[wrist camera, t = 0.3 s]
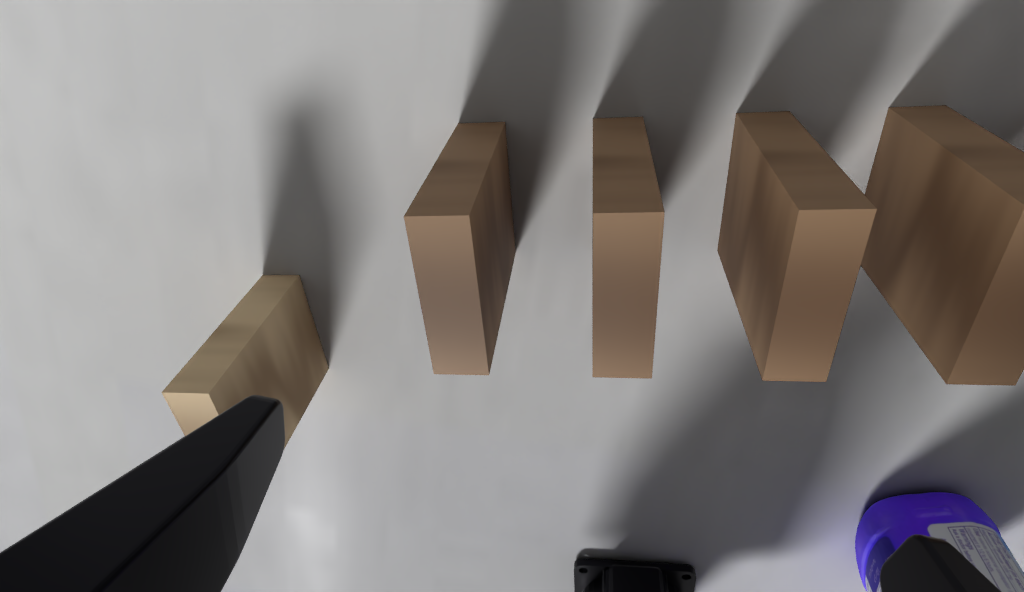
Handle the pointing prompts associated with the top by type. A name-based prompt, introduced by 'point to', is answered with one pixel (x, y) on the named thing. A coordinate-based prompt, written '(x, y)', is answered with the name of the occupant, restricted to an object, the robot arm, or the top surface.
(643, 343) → the domino
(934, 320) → the domino
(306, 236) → the top surface
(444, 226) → the domino
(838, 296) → the domino
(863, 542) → the bottle
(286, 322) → the oak domino
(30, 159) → the top surface
